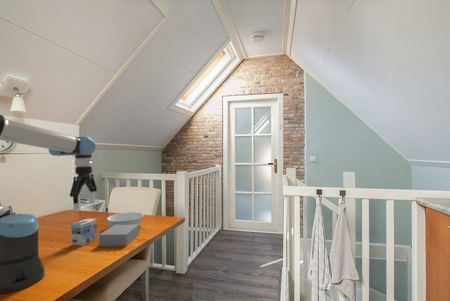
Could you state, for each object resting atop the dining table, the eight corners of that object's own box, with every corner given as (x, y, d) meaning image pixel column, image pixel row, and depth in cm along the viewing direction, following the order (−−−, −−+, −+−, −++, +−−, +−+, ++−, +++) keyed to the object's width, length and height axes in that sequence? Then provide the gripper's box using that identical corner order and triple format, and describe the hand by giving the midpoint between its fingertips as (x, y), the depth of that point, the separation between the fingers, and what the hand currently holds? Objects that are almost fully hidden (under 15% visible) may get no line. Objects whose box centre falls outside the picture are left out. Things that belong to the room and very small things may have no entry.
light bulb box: (82, 246, 117) (82, 224, 117) (71, 245, 118) (70, 224, 118) (98, 238, 127) (97, 218, 127) (87, 237, 129) (87, 218, 129)
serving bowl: (127, 234, 133) (127, 222, 133) (99, 231, 139) (98, 219, 140) (150, 223, 152) (150, 212, 152) (124, 221, 159) (124, 211, 159)
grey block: (126, 246, 116) (126, 234, 116) (98, 246, 116) (98, 234, 116) (139, 235, 132) (139, 224, 132) (114, 235, 132) (114, 224, 132)
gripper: (76, 167, 111) (77, 212, 111) (102, 164, 136) (103, 201, 136) (60, 168, 111) (61, 212, 111) (89, 164, 136) (90, 201, 136)
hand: (84, 206), depth 123 cm, fingers open, 13 cm apart
